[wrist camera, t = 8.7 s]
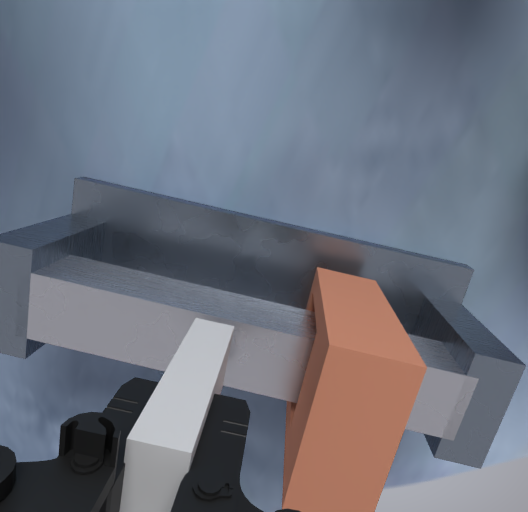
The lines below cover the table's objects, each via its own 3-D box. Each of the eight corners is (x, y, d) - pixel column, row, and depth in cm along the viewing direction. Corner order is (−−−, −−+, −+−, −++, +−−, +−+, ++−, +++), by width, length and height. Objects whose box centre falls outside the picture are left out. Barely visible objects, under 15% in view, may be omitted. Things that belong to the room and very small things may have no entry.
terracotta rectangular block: (287, 377, 22) (282, 509, 14) (316, 266, 20) (329, 344, 12) (341, 389, 22) (367, 530, 14) (375, 280, 20) (427, 367, 12)
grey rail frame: (70, 319, 25) (-21, 388, 18) (84, 177, 23) (-15, 189, 16) (416, 402, 25) (465, 506, 18) (466, 264, 23) (547, 320, 15)
